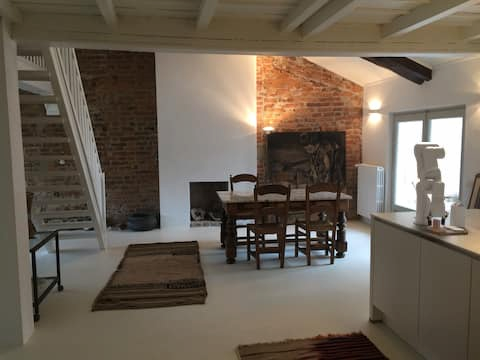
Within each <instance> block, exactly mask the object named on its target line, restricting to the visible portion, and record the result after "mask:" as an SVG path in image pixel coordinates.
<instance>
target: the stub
mask: <svg viewBox="0 0 480 360" xmlns="http://www.w3.org/2000/svg"><path fill="white" fill-rule="evenodd" d="M440 227H441V219H436V218H432V226H427V227H426V228H427V229H430V230H433V231H435V232H446V230H443V229H440Z"/></svg>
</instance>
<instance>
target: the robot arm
mask: <svg viewBox="0 0 480 360" xmlns="http://www.w3.org/2000/svg"><path fill="white" fill-rule="evenodd" d="M413 154H414V158H415V161H416V173H417V178H418V179H419V181H418V182H416V184H415V191H416V202H415V203H416V206H415V216H414V217H413V219H414V220H413V222H412V223H413V224H415V225H420V226H428V227H433V219H434V218H441V219H440V226H446V225H445V224H446V220H447V218H448V217H449V216H450V215H449V214H450V213H449V212H448V211H446V203H445V200H446V198H445V187H446V186H445V184H446V183H445V182H443V181H442V171H441V169H440V167H439V163H438V160H443V159H445V156H446V149H445V148H444V146H443V145H441V143H439V142H418V143H415V145H414V147H413ZM428 195H431V198H430V197H429V196H428Z"/></svg>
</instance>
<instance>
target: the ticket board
mask: <svg viewBox="0 0 480 360" xmlns="http://www.w3.org/2000/svg"><path fill="white" fill-rule="evenodd" d="M440 229H443V230H446V232H435V231H433V230H430V229H427V227H425V231H426V232H427V231H428V232H429V233H433V234H435V235H438V236H459V235H460V234H461V235H462V234H463V235H469V232H468V231H466V230H465V229H464V228H462V227H455V226H450V225H442V227H441V226H440ZM463 235H462V236H463Z"/></svg>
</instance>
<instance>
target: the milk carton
mask: <svg viewBox="0 0 480 360" xmlns="http://www.w3.org/2000/svg"><path fill="white" fill-rule="evenodd" d="M466 211H467V207H466V206H465V204H463V203H462V200H458V199H455V201H454V202H453V203H451V204H450V213H449V214H450V215H449V226H455V227H458V228H466Z"/></svg>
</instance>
